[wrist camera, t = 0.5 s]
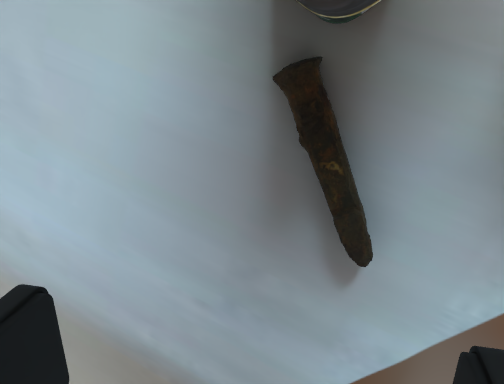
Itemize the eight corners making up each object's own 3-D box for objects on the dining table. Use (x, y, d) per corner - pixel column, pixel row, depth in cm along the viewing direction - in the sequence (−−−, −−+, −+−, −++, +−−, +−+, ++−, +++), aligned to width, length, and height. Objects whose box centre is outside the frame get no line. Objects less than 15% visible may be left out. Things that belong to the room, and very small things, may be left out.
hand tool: (275, 69, 35) (266, 73, 31) (321, 52, 34) (318, 55, 30) (336, 257, 40) (336, 284, 36) (377, 249, 39) (382, 275, 35)
